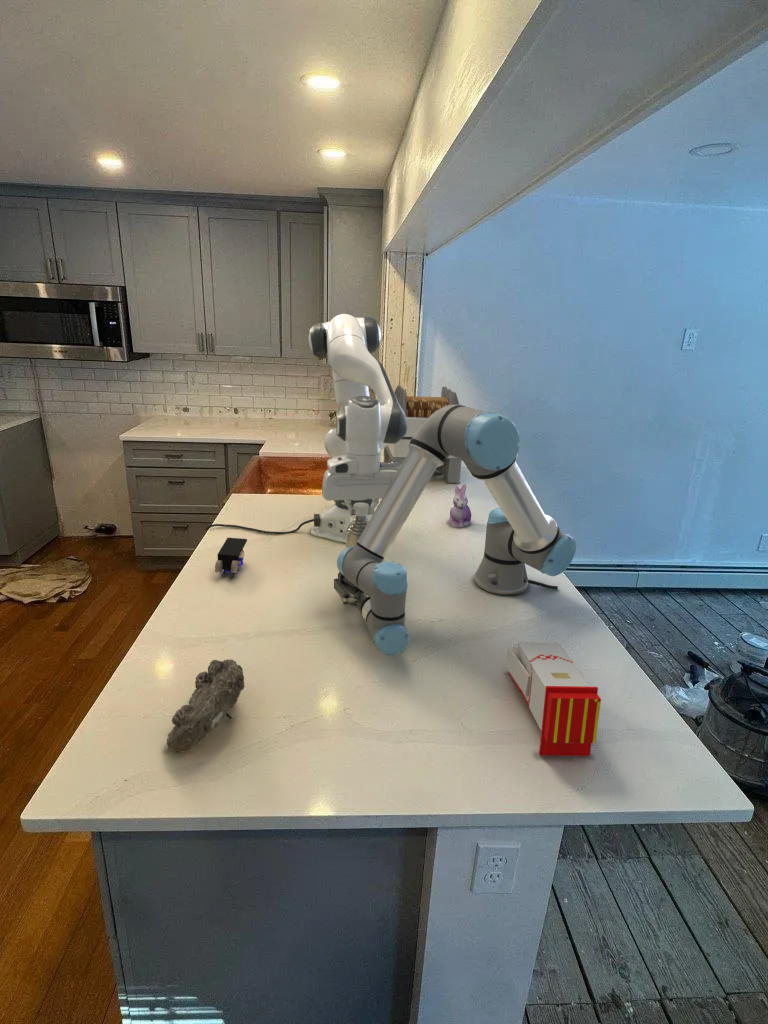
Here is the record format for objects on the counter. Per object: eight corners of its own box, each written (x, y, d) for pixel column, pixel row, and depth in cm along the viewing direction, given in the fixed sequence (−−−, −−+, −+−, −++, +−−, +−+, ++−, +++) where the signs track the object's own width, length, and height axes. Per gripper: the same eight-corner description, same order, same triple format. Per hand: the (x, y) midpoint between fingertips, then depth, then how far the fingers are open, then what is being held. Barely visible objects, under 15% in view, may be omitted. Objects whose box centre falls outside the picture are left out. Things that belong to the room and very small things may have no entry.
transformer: (382, 463, 289) (386, 382, 275) (445, 464, 293) (451, 384, 279) (390, 482, 257) (394, 392, 243) (460, 483, 261) (468, 394, 247)
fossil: (192, 660, 117) (244, 628, 112) (224, 691, 120) (276, 661, 115) (142, 746, 98) (202, 712, 93) (182, 779, 101) (242, 748, 96)
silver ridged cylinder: (347, 605, 151) (349, 513, 142) (342, 591, 158) (344, 503, 149) (375, 602, 153) (379, 512, 144) (369, 589, 160) (372, 502, 151)
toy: (554, 624, 127) (610, 694, 97) (548, 679, 130) (602, 763, 100) (500, 623, 126) (541, 693, 97) (496, 678, 129) (534, 763, 100)
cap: (354, 516, 145) (354, 507, 144) (353, 511, 148) (353, 502, 148) (369, 516, 145) (369, 507, 144) (368, 511, 149) (368, 502, 148)
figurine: (457, 529, 205) (460, 490, 200) (441, 520, 214) (444, 482, 209) (478, 526, 210) (482, 487, 205) (462, 517, 218) (465, 480, 213)
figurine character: (238, 584, 162) (249, 557, 175) (236, 562, 158) (247, 536, 172) (215, 584, 161) (227, 556, 175) (212, 561, 158) (225, 535, 171)
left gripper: (399, 458, 148) (396, 508, 152) (320, 460, 143) (320, 512, 147) (405, 465, 142) (402, 516, 147) (324, 467, 137) (324, 520, 142)
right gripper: (334, 627, 135) (318, 583, 156) (415, 618, 141) (390, 577, 161) (334, 599, 133) (318, 559, 153) (417, 591, 138) (391, 553, 159)
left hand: (361, 514), depth 147 cm, fingers closed on cap, 4 cm apart
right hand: (355, 568), depth 157 cm, fingers closed on silver ridged cylinder, 8 cm apart
